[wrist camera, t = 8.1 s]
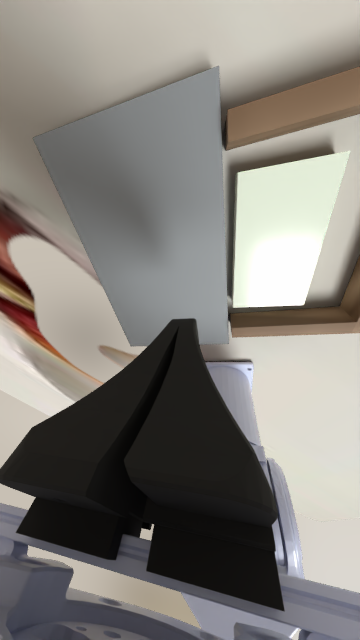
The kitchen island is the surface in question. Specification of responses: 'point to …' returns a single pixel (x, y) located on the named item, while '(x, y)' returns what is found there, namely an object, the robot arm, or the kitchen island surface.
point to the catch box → (275, 120)
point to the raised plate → (151, 205)
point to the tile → (282, 228)
